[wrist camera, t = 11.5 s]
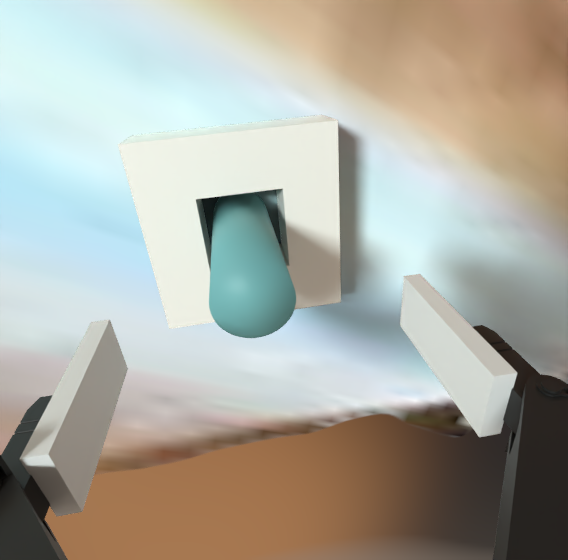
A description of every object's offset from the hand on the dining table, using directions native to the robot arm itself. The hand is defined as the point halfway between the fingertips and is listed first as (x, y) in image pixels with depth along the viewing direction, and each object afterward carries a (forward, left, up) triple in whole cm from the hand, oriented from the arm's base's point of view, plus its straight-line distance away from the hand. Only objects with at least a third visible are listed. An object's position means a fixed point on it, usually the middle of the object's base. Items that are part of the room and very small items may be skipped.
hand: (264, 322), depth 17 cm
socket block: (0, 0, -16) cm, 16 cm away
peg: (0, 0, -16) cm, 16 cm away
